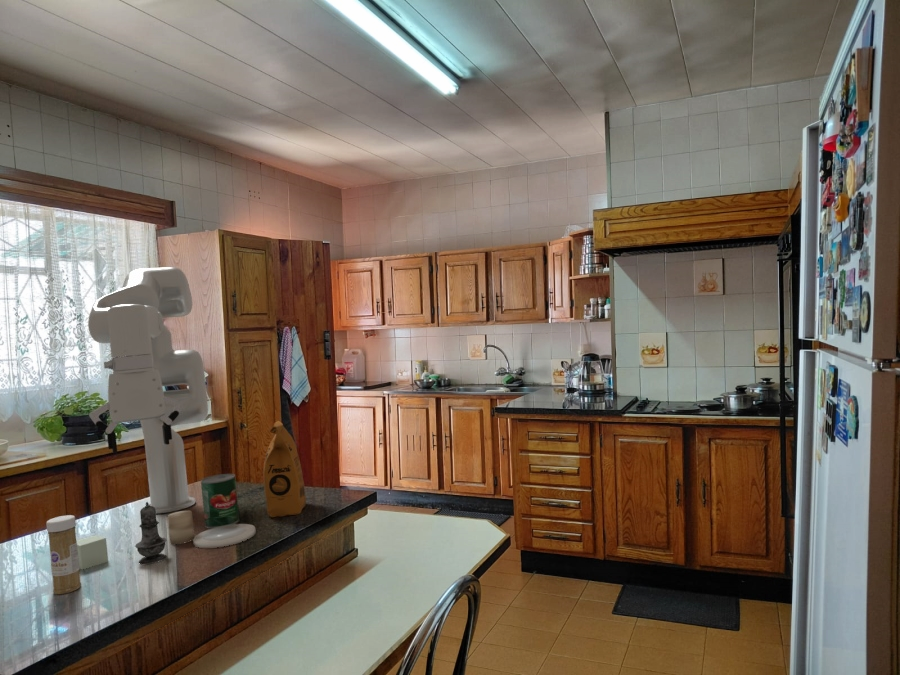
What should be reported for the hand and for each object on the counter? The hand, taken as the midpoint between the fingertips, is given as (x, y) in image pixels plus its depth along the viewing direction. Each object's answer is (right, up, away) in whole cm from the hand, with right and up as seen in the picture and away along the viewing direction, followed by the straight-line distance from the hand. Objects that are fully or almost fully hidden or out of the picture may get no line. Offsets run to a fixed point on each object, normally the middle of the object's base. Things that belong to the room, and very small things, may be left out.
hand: (141, 447), depth 130 cm
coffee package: (+22, -21, +29) cm, 42 cm away
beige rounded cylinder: (+3, -23, +12) cm, 26 cm away
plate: (+13, -22, +11) cm, 28 cm away
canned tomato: (+8, -22, +23) cm, 33 cm away
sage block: (-11, -24, +2) cm, 27 cm away
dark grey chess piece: (+2, -23, 0) cm, 23 cm away
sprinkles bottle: (-8, -24, -12) cm, 28 cm away
